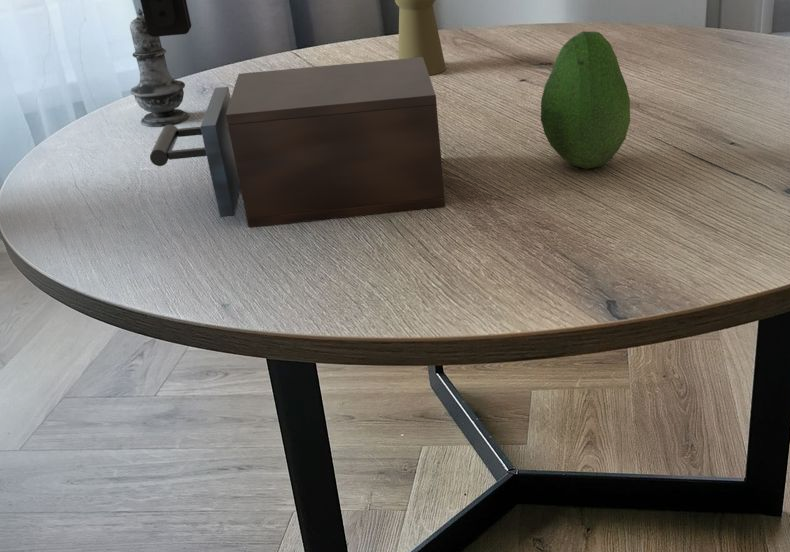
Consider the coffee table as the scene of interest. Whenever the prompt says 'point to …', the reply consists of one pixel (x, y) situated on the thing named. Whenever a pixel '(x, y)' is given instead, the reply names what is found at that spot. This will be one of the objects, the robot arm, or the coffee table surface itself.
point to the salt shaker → (155, 79)
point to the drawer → (207, 150)
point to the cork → (420, 34)
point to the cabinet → (336, 141)
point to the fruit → (586, 102)
